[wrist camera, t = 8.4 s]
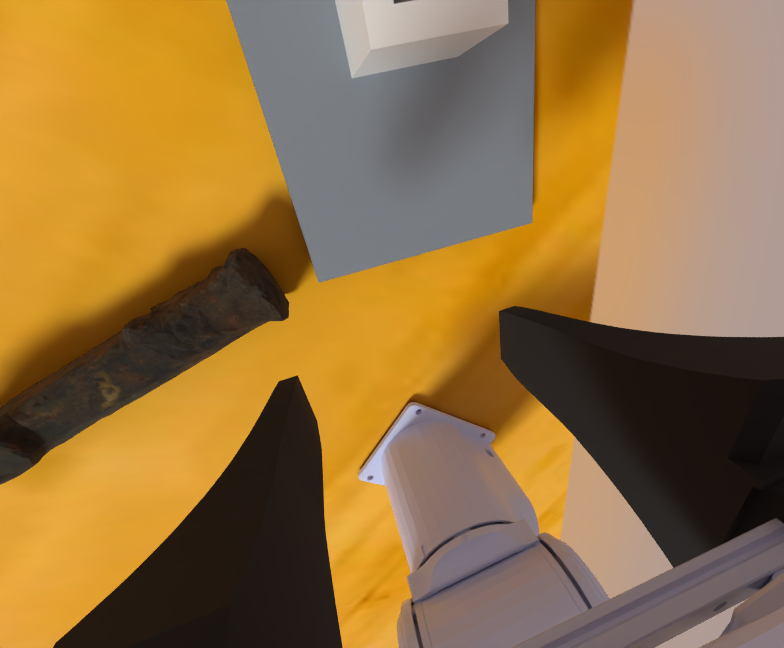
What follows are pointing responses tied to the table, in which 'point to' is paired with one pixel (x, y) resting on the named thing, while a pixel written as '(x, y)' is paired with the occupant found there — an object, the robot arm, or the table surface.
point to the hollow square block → (414, 31)
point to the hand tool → (139, 359)
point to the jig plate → (392, 135)
